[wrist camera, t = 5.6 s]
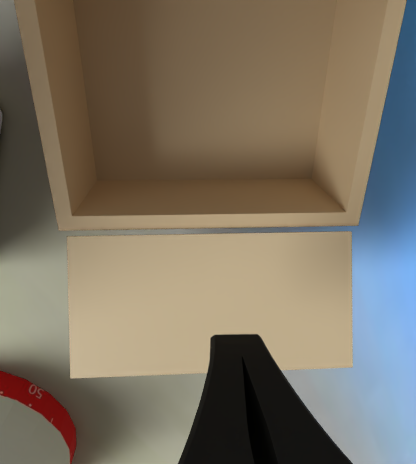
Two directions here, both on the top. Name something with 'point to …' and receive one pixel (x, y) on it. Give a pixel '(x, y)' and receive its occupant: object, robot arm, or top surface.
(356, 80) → the carton
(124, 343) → the flap
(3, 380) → the kitchen timer
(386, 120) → the top surface
